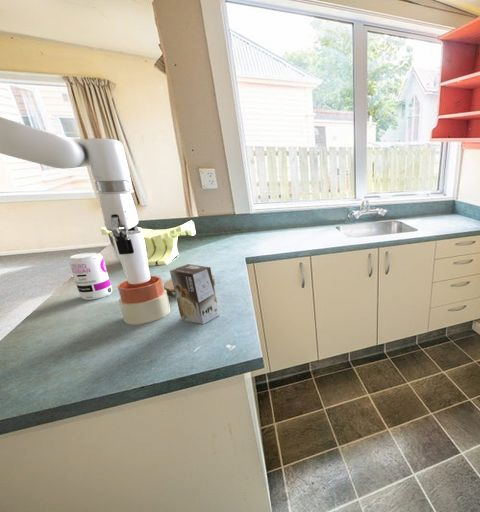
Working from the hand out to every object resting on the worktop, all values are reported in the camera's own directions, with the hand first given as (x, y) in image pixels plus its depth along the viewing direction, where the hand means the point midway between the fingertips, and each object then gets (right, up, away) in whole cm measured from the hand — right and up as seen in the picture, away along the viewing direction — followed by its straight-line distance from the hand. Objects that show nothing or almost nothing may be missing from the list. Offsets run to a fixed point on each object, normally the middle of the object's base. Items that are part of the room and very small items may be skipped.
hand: (131, 249), depth 86 cm
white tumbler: (0, -10, +3) cm, 10 cm away
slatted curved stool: (-34, -4, +56) cm, 65 cm away
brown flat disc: (+1, -14, +26) cm, 29 cm away
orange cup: (0, -20, +7) cm, 21 cm away
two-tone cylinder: (0, -20, +7) cm, 21 cm away
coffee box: (+17, -21, +6) cm, 27 cm away
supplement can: (-28, -16, +19) cm, 37 cm away
